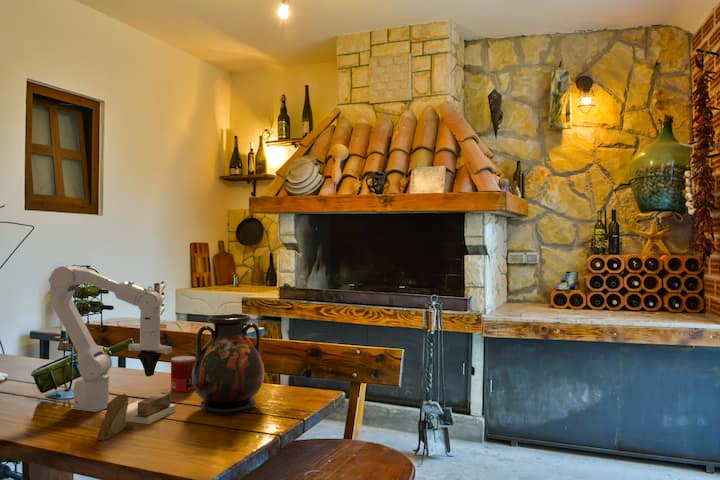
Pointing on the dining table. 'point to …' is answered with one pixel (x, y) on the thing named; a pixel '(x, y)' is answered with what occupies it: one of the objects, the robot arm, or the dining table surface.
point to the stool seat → (134, 417)
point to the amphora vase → (228, 366)
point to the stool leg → (154, 403)
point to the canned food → (182, 374)
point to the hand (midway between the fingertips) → (149, 375)
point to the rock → (114, 417)
